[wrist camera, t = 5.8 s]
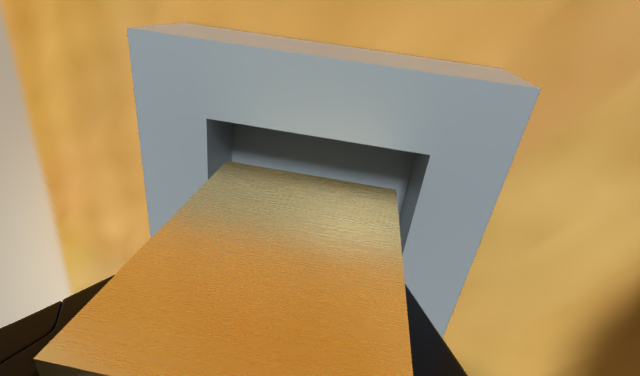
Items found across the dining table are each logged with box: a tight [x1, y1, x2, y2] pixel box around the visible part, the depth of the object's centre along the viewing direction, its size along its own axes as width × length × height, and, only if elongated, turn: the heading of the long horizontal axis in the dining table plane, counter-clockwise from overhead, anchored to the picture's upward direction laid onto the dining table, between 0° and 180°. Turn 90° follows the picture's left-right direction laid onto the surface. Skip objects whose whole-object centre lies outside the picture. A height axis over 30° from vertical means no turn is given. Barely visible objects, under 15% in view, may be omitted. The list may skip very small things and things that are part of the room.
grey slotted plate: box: [127, 23, 541, 338], centre depth 15 cm, size 22×10×3 cm, turn 173°
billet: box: [34, 161, 413, 376], centre depth 8 cm, size 4×4×6 cm
